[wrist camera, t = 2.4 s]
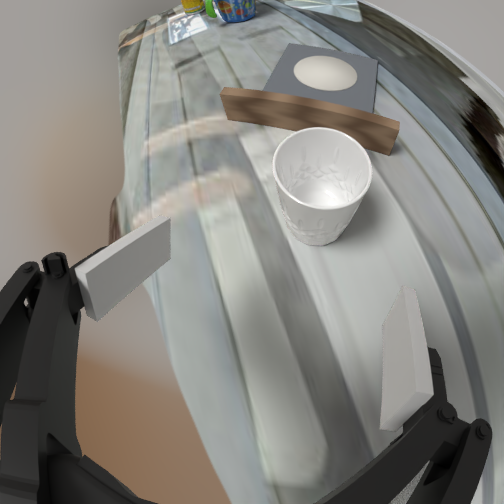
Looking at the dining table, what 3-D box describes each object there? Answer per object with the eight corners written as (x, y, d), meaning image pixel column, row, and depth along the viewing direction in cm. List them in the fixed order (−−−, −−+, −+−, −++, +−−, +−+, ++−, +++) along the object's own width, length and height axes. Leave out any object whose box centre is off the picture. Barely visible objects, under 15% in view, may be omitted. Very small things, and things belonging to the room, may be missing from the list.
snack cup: (249, 4, 50) (242, -28, 40) (279, 11, 46) (275, -24, 37) (199, 26, 48) (187, -8, 39) (227, 34, 45) (217, -5, 35)
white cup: (290, 178, 32) (287, 119, 22) (357, 195, 30) (376, 140, 21) (270, 240, 30) (259, 194, 21) (343, 260, 28) (364, 221, 19)
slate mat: (377, 62, 37) (377, 59, 36) (371, 119, 33) (372, 115, 32) (289, 45, 41) (289, 42, 40) (261, 96, 37) (260, 92, 36)
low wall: (389, 147, 31) (399, 121, 27) (388, 155, 31) (399, 130, 26) (232, 112, 37) (224, 87, 32) (227, 119, 36) (219, 94, 31)
